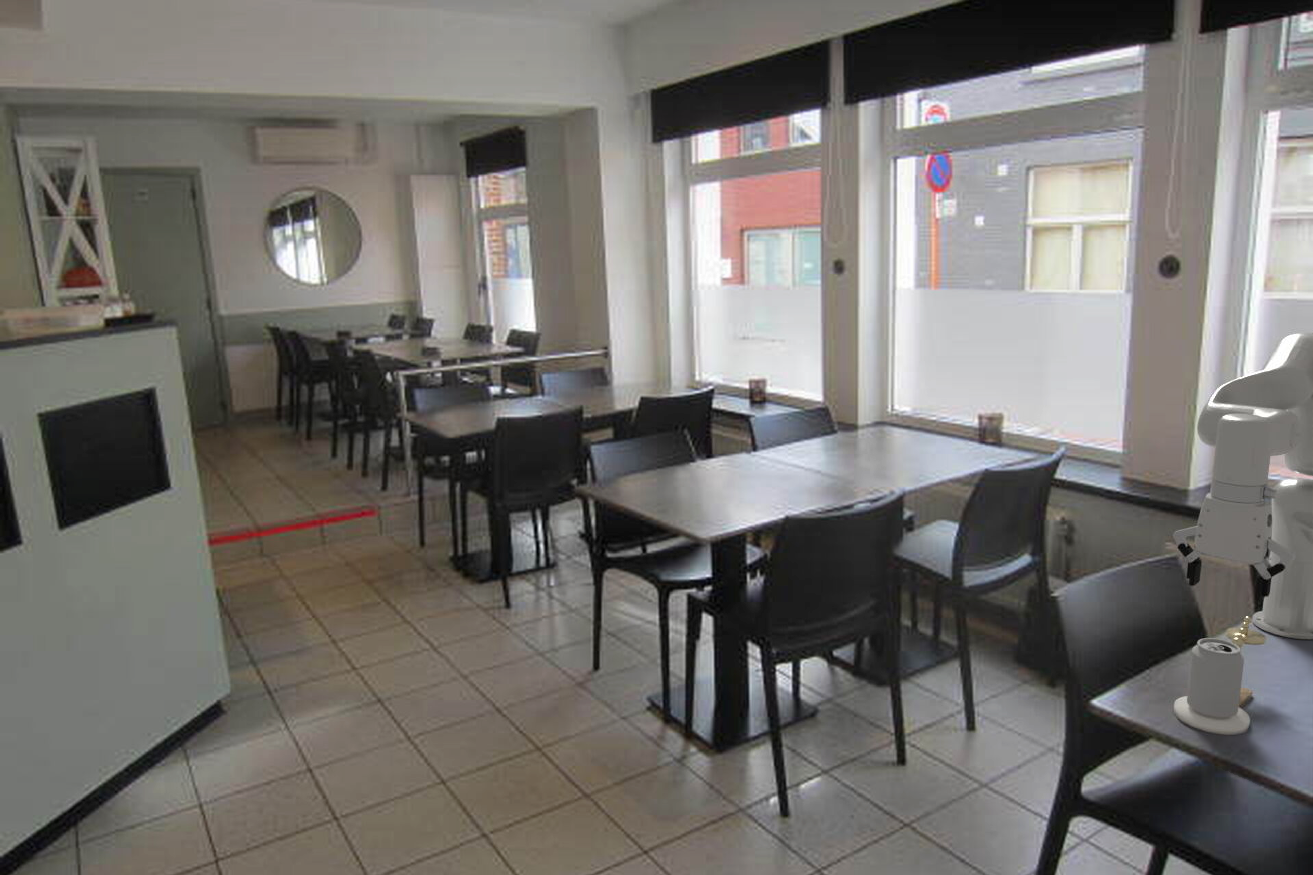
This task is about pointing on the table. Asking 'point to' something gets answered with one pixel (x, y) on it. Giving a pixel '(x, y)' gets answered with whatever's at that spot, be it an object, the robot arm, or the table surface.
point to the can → (1215, 678)
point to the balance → (1240, 638)
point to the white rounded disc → (1211, 720)
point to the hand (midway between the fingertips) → (1226, 591)
